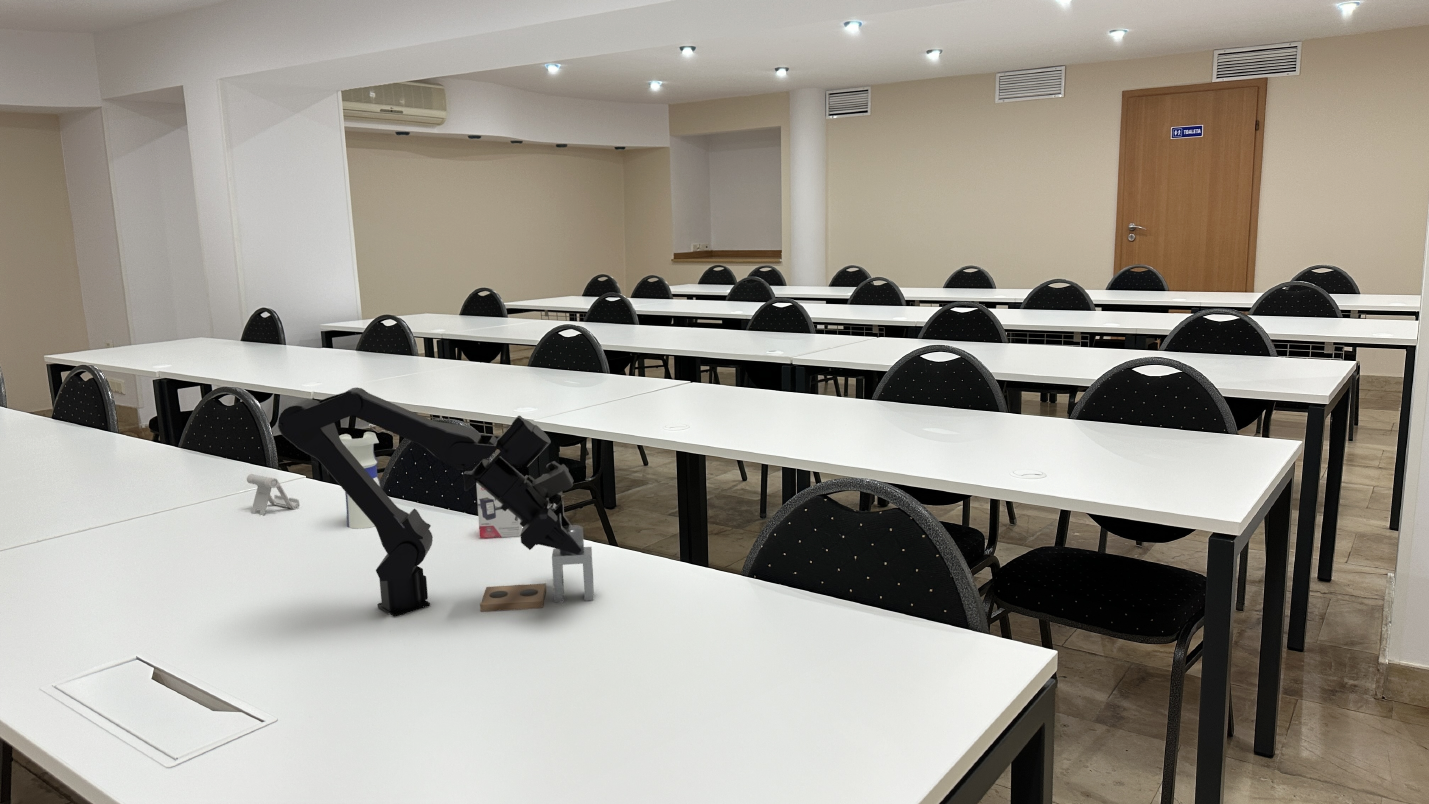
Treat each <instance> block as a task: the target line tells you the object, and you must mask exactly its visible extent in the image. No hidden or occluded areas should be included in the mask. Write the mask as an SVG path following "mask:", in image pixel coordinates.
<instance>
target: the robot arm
mask: <svg viewBox="0 0 1429 804" xmlns="http://www.w3.org/2000/svg"><path fill="white" fill-rule="evenodd" d="M349 417H354V418H357V419H358V420H359V419H361V421H363V422H366V423H368V424H371V425H373V426H375V427H378V428H380V429H383V430H385V431H387V432H389V433H392V434H395V435H396V436H399V437H400V438H401V437H402V438H404V439H406V440H408V441H411V442H414V443H415V444H418V445H420V446H421V447H423V448H424V449H426V450H427V451H428V452H430V454H432V456H434V457H435V458H436V459H438V460H439V461H441V462H443V463H444V464H446V465H447V466H449V467H450V468H452V469H454V470H458V471H462V470H463V471H464V470H465V471H464V472H463V474H462V477H463V481H464V484H463V485H464V488H463V489H464V491H465V492H468V491H469V490H470V489H471V488H472V487H474V485H475V484H479V485H480V486H481V487H482V488H483V489H484V490H486V491H487V492H488V493H489V494H490V495H492V496H493V497H494V498H495V499H496V500H497V501H499V502H500V503H501V504H502V505H501V507H500V508H501V509H503V510H504V511H506V510H507V509H508V510H509V511H510V512H512V513H513V514H514V515H515V516H516V517H517V518H519V519H520V520H521V521H520V525H521V526H523V528H522V532H521V536H520V544H522V545H523V546H524V547H526V548H527V549H528V550H529V551H531V550H533V548H534V547H535V546H539V545H540V546H544V547H548V548H552V549H559V550H563V551H567V552H570V553H574V554H579V553H580V551H581V548H580V546H579V545H578V544H577V543H576V542H575V540H574V539H573V538H572V537H571V536H570V535H569V533H568V532H567V531H566V530H565V529H564V528H563V526H567V525H572V523H571V522H570V520H569V519H568V518H567V516H566V515H565V510H564V509H565V507H564V504H565V503H564V499H562V500H560V501H559V502H558V503H557V504H556V503H554V502H555V501H556V500H557V499H561V497H562V496H563V492H566V491H568V490H570V489H571V488H573V486H574V484H573V483H574V481H575V480H574V479H573V476H572V475H571V473H570V472H569V471H570V470H569V468H568V467H567V466H566V465H565V464H564V463H562V464H559V463H558V462H557V461H555V460H554V461H551V462H549V463H548V464H546V466H545V473H542V475H541V476H539V477H537V478H534V477H533V476H531V475H528V474H526V475H525V476H524V475H523V474H522V473H520V472H519V471H518V470H517V469H520V468H522V467H524V468H528V467H529V466H530V465H531V464H532V463H533V462H534V461H535V460H536V459H537V458H538V456H540V455H541V454H542V452H543V451H544V450H545V449H546V448H547V447H549V445H550V444H551V439H550V437H549V436H548V434H547V433H546V432H545V431H544V430H543V429H541V427H539V426H538V425H537V424H534V423H533V422H531V421H530V420H529V419H525V418H523V417H522V416H521V415H517V417H516V418H514V419H513V420H512V423H511V424H510V425H509V426H508V428H507V429H506V430H505V431H504V432H503V433H502V434H501V435H495V434H482V433H480V432H479V431H477V430H476V429H474V428H472V427H467V426H463V425H459V424H455V423H449V422H440V421H436V420H432V419H430V418H428V417H425V416H423V415H420V414H418V413H416V412H414V411H411V410H409V409H406V408H404V407H403V406H402V407H401V406H400V405H398V404H395V403H393V402H391V401H388V400H385V399H384V398H381V397H379V396H377V395H374V394H372V393H370V392H368V391H367V390H365V389H364V388H362V387H351V388H350V389H348V390H346V391H345V392H342V393H341V392H340V393H337V394H334V395H332V396H328V397H325V398H322V399H320V400H317V399H311V398H310V399H309V398H307V399H301V400H300V401H297V402H295V403H293V404H292V405H290V406H288V407H287V408H285V409H284V410H282V411H281V413H280V415H279V417H278V421H277V422H278V423H277V429H278V431H279V433H280V434H281V435H282V437H284V438H285V439H286V440H287V441H289V443H290V444H292V445H293V446H295V448H297V449H298V450H300V451H302V452H304V453H305V454H307V455H309V456H311V457H313V458H314V459H316V460H317V461H318V462H319V463H320V464H321V465H322V466H323V467H324V469H325V470H326V471H327V472H328V473H329V475H330V476H331V477H332V478H333V479H334V481H336V483H337V484H338V485H339V486H340V487H341V489H342V490H343V491H344V493H345V492H346V493H347V494H348V495H349V496H350V498H351V499H352V500H353V501H354V502H355V503H356V505H357V506H358V507H359V508H360V509H361V510H362V511H363V513H364V514H365V515H366V516H367V517H368V518H369V520H370V521H371V522H372V523H373V524H374V525H375V527H374V528H375V529H376V532H377V535H378V537H379V540H380V542H381V543H380V544H381V545H382V547H383V548H384V550H385V552H386V555H385V556H384V558H383V559H382V560H381V562H380V563H379V565H378V566H377V568H376V569H375V572H376V574H377V576H378V578H379V579H378V580H379V588H380V589H379V590H380V599H381V600H380V603H378V604H377V608H378V609H381V611H383V612H385V613H387V614H388V615H390V616H392V617H394V618H395V617H399V616H402V615H405V614H409V613H412V612H415V611H419V610H422V609H425V608H428V607H431V602H429V601H428V598H429V596H428V584H427V583H428V582H427V576H426V575H424V569H423V568H422V567H420V566H419V565H420V564H421V563H422V562H423V561H424V560H425V558H426V556H427V554H428V553H429V551H430V550H431V548H432V545H433V534H432V532H431V529H430V528H431V526H432V525H431V523H428V522H426V521H425V520H424V519H423V518H422V516H421V514H420V513H419V511H418V510H417V509H416V508H413V509H412V510H411V511H409V513H408V512H407V511H405V510H402V509H401V508H400V507H398V506H397V505H396V503H394V501H393V500H392V499H391V498H390V497H389V495H387V494H386V492H385V491H384V489H382V488H380V486H381V485H380V486H379V485H378V484H377V483H376V482H375V481H374V479H373V478H372V477H371V476H370V475H369V473H368V472H367V471H366V470H365V469H364V468H363V466H362V465H361V464H360V463H359V462H358V461H357V459H356V458H355V457H354V456H353V455H352V454H351V452H350V451H349V450H348V449H347V448H346V447H345V445H344V444H343V443H342V441H341V440H340V437H339V436H340V435H339V432H338V429H337V426H336V422H338V421H341V420H344V419H346V418H349ZM497 450H498V451H497ZM496 451H497V453H496V454H495V452H496ZM493 454H495V455H494V456H493V457H491V456H492V455H493ZM489 458H491V459H490V460H488V459H489ZM478 461H480V462H479V463H478V464H477V465H476V466H475V467H474V468H473V470H466V469H469V468H471V467H472V466H474V465H475V464H476V463H477V462H478ZM516 468H517V469H516Z"/></svg>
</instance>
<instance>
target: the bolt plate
mask: <svg viewBox="0 0 1429 804" xmlns="http://www.w3.org/2000/svg"><path fill="white" fill-rule="evenodd" d="M546 585H547V584H546V583H532V584H531V583H528V584H514V585H513V584H511V585H497V586H495V585H494V586H486V587H485V590H484V593H483V595H482V599H481V602H480V603H479V608H480V612H481V613H482V612H483V613H484V612H498V611H497V610H500V611H511V610H512V611H513V610H514V609H515V610H517V611H518V610H530V609H543V608H544V604H545V603H544V602H545V598H546V593H547V586H546ZM515 610H514V611H515Z"/></svg>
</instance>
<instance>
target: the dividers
mask: <svg viewBox="0 0 1429 804" xmlns="http://www.w3.org/2000/svg"><path fill="white" fill-rule="evenodd" d="M563 528H564V529H565V530H566V531H567V532H568V533H569V535H570V536H571V537H572V538H573V539H574V540H575V542H576V543H577V544H578V545H579V546H580V548H581V551H580V553H579V554H574V553H570V552H567V551H563V550H559V549H556V548H552V552H551V553H552V555H551V564H552V567H551V568H552V582H553V598H554V600H553V601H554V603H555V604H556V603H564V600H565V582H564V566H567V565H581V564H582V574H583V590H584V602H585V601H586V602H587V601H588V602H589V601H594V593H595V591H594V590H595V588H594V586H595V585H594V569H593V551H592V550H593V549H592V546H585V544H584V541H585V540H584V527H583V526H582V525H578V524H571V525H567V526H563Z"/></svg>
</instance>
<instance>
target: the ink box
mask: <svg viewBox="0 0 1429 804" xmlns="http://www.w3.org/2000/svg"><path fill="white" fill-rule="evenodd" d="M475 484H476V498H477V499H476V500H477V515H478V517H477V518H478V529H479V530H478V531H479V532H478V533H479V539H480V538H484V539H495V538H494V537H499V538H512V537H513V538H515V537H521V532H522V527H523V526H521V525H520V521H521V520H520V519H519V518H517V517H516V516H515V515H514V514H513V513H512V512H510V511H509V510H508V509H507V510H506V511H504V510H503V509H501V508H500V507H501V505H502V504H501V503H500V502H499V501H497V500H496V499H495V498H494V497H493V496H492V495H490V494H489V493H488V492H487V491H486V490H484V489H483V488H482V487H481V486H480V485H479V484H477V483H475Z"/></svg>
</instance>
